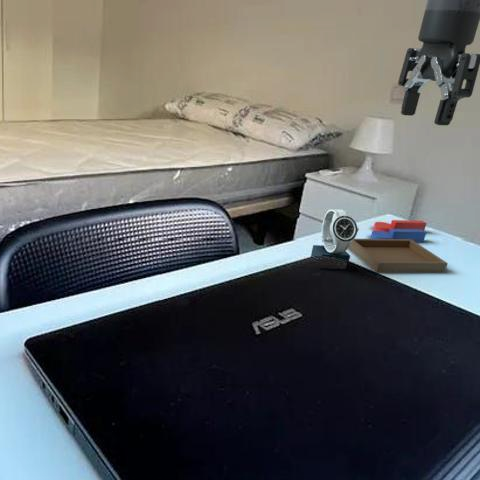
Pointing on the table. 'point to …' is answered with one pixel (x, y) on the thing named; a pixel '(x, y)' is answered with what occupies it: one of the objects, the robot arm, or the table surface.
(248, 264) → the table surface
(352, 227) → the watch
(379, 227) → the red spoon
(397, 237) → the blue spoon
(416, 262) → the tray
